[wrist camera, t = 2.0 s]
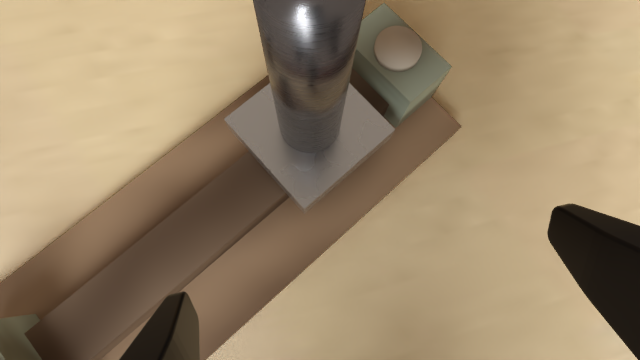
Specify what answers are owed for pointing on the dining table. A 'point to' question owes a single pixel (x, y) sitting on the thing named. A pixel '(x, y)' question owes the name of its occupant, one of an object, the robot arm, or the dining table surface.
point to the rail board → (244, 260)
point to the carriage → (309, 99)
